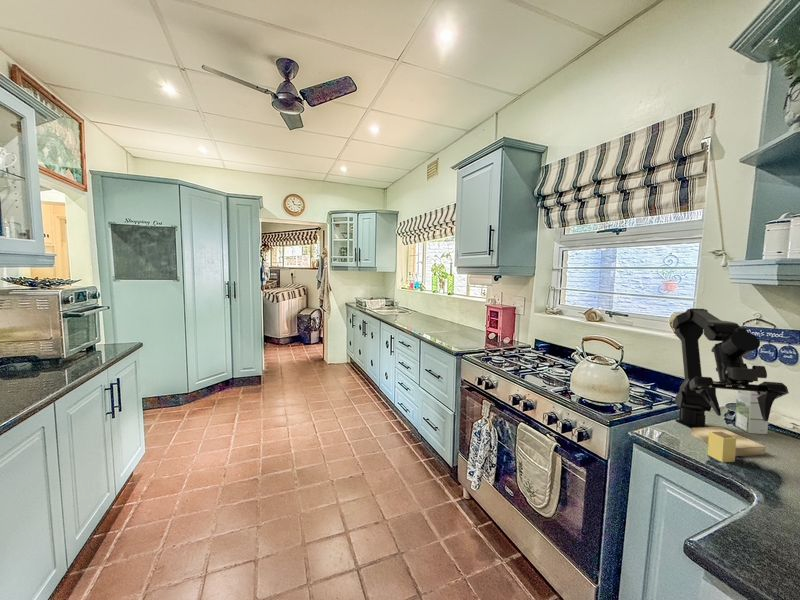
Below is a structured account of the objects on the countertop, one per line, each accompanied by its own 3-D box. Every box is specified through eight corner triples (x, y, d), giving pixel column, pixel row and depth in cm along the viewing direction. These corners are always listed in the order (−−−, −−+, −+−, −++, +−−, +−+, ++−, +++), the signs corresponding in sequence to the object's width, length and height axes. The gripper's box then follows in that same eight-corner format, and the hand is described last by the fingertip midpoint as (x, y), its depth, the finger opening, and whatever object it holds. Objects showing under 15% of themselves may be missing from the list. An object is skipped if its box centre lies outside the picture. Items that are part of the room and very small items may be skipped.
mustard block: (707, 454, 96) (709, 431, 96) (719, 454, 96) (721, 430, 96) (722, 462, 92) (723, 437, 92) (734, 461, 92) (736, 437, 92)
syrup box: (768, 434, 108) (771, 392, 107) (747, 433, 109) (750, 391, 109) (753, 427, 114) (756, 387, 113) (733, 425, 115) (736, 386, 114)
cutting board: (691, 435, 108) (691, 427, 108) (718, 433, 109) (718, 426, 109) (734, 456, 95) (735, 448, 95) (764, 454, 96) (765, 446, 96)
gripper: (696, 351, 92) (706, 407, 85) (791, 355, 83) (810, 418, 76) (684, 363, 100) (693, 415, 94) (769, 368, 92) (785, 426, 85)
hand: (742, 418), depth 87 cm, fingers open, 9 cm apart
